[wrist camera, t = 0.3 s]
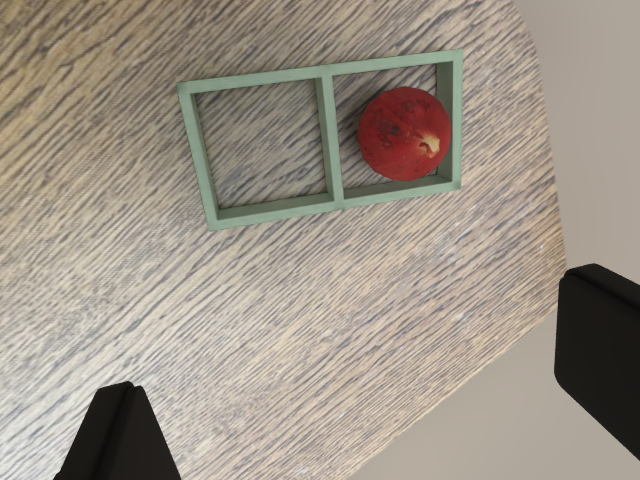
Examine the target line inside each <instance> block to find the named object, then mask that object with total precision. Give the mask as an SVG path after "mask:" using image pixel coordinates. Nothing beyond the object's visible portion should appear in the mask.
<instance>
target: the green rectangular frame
mask: <svg viewBox="0 0 640 480" xmlns="http://www.w3.org/2000/svg"><path fill="white" fill-rule="evenodd" d="M434 63H436V73H437V99H438V100H439V101H440V102H441V103H442V105H443V107H444V108H445V110H446V111H447V113H448V115H449V118H450V125H451V132H452V133H451V138H450V143H449V149H448V151H447V153H446V154H445V156H444V158H443V159H442V161H441V163H440V164H439V165H438V166H437V175H433V176H426V177H420V178H418V179H415V180H413V181H395V182H389V183H383V184H377V185H371V186H364V187H358V188H352V189H346V190H343V183H342V173H341V162H340V152H339V141H338V131H337V120H336V109H335V99H334V88H333V78H332V76H337V75H345V74H354V73H362V72H370V71H378V70H386V69H394V68H402V67H410V66H418V65H426V64H434ZM462 76H463V49H462V48H460V49H452V50H444V51H435V52H427V53H419V54H410V55H402V56H394V57H385V58H377V59H369V60H360V61H352V62H344V63H335V64H327V65H319V66H310V67H302V68H294V69H286V70H277V71H269V72H261V73H252V74H244V75H236V76H227V77H219V78H211V79H202V80H194V81H186V82H177V83H176V88H177V93H178V97H179V101H180V106H181V110H182V115H183V119H184V123H185V128H186V132H187V136H188V141H189V145H190V150H191V154H192V158H193V163H194V167H195V172H196V176H197V180H198V185H199V189H200V194H201V198H202V202H203V207H204V211H205V216H206V220H207V225H208V229H209V231H216V230H222V229H228V228H233V227H239V226H245V225H251V224H257V223H263V222H269V221H275V220H281V219H287V218H293V217H299V216H305V215H311V214H317V213H323V212H329V211H335V210H341V209H347V208H353V207H359V206H365V205H371V204H377V203H383V202H389V201H395V200H401V199H407V198H413V197H419V196H425V195H431V194H437V193H443V192H449V191H455V190H460V189H461V148H462ZM313 78H315V85H316V94H317V103H318V112H319V122H320V131H321V140H322V149H323V158H324V167H325V176H326V185H327V193H321V194H315V195H308V196H302V197H296V198H290V199H284V200H277V201H271V202H265V203H259V204H253V205H246V206H240V207H234V208H228V209H221V210H219V208H218V204H217V199H216V194H215V190H214V185H213V180H212V176H211V171H210V166H209V162H208V157H207V152H206V148H205V143H204V138H203V133H202V129H201V124H200V119H199V115H198V110H197V105H196V101H195V96H194V93H200V92H209V91H217V90H225V89H233V88H241V87H249V86H257V85H265V84H273V83H281V82H289V81H297V80H305V79H313Z"/></svg>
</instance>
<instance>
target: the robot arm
mask: <svg viewBox="0 0 640 480" xmlns="http://www.w3.org/2000/svg"><path fill="white" fill-rule="evenodd" d="M554 374H555V377H556V380H557V382H558V383H559V385H560V386H561V387H562V388H563V389H564V390H565V391H566V392H567V393H568V394H569V395H570V396H571V397H572V398H573V399H574V400H575V401H576V402H577V403H579V404H580V405H581V406H582V407H583V408H584V409H585V410H586V411H587V412H588V413H589V414H590V415H591V416H592V417H593V418H595V419H596V420H597V421H598V422H599V423H600V424H601V425H602V426H603V427H604V428H605V429H606V430H607V431H608V432H610V433H611V434H612V435H613V436H614V437H615V438H616V439H617V440H618V441H619V442H620V443H621V444H622V445H623V446H624V447H626V448H627V449H628V450H629V451H630V452H631V453H632V454H633V455H634V456H635V457H636V458H637V459H638V460H639V461H640V285H638V284H636V283H634V282H633V281H631V280H629V279H627V278H625V277H623V276H621V275H619V274H617V273H615V272H613V271H610V270H609V269H606V268H604V267H602V266H600V265H598V264H595V263H594V264H588V265H584V266H580V267H576V268H572V269H569V270H567V271H566V272H565V274H564V277H563V278H562V279H561V280H560V282H559V294H558V312H557V330H556V348H555V364H554ZM53 480H181V477H180V474H179V472H178V470H177V467H176V465H175V462H174V460H173V458H172V455H171V453H170V450H169V448H168V446H167V443H166V441H165V438H164V436H163V434H162V431H161V429H160V426H159V424H158V422H157V419H156V417H155V414H154V412H153V410H152V407H151V405H150V402H149V400H148V398H147V395H146V393H145V390H144V389H143V387H142V386H136V387H134V385H133V384H132V383H131V382H130V381H126V382H122V383H118V384H114V385H110V386H106V387H102V388H100V389H98V390H97V392H96V393H95V395H94V397H93V400H92V402H91V404H90V406H89V408H88V411H87V413H86V415H85V417H84V419H83V421H82V424H81V426H80V428H79V430H78V432H77V435H76V437H75V439H74V441H73V443H72V446H71V448H70V450H69V452H68V454H67V457H66V459H65V461H64V463H63V465H62V468H61V470H60V472H58V473H57V474H56V475H55V477H54V479H53Z"/></svg>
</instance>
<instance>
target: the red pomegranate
mask: <svg viewBox="0 0 640 480" xmlns="http://www.w3.org/2000/svg"><path fill="white" fill-rule="evenodd" d="M451 133H452V132H451V125H450V118H449V115H448V113H447V111H446V110H445V108H444V107H443V105H442V103H441V102H440V101H439V100H438V99H437V98H435V97H434V96H432V95H431V94H429V93H428V92H426V91H424V90H421V89H416V88H411V87H406V86H404V87H400V88H396V89H392V90H389V91H386V92H383V93H382V94H380V95H379V96H378V97H376V98H375V99H374V100H372V101H371V102H370V103H368V105H367V107H366V109H365V110H364V112H363V114H362V116H361V118H360V119H359V124H358V135H357V140H358V143H359V146H360V149H361V152H362V155H363V158H364V160H365V161H366V162H367V163H368V164H369V166H370V167H371V168H372V169H373V170H374V171H375V172H377V173H379V174H381V175H383V176H385V177H387V178H389V179H392V180H399V181H413V180H415V179H418V178H420V177H423V176H425V175H427V174H429V173H430V172H431V171H432V170H433V169H434V168H436V167H437V166H438V165H439V164H440V163H441V161H442V159H443V158H444V156H445V154H446V153H447V151H448V149H449V143H450V138H451Z"/></svg>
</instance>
